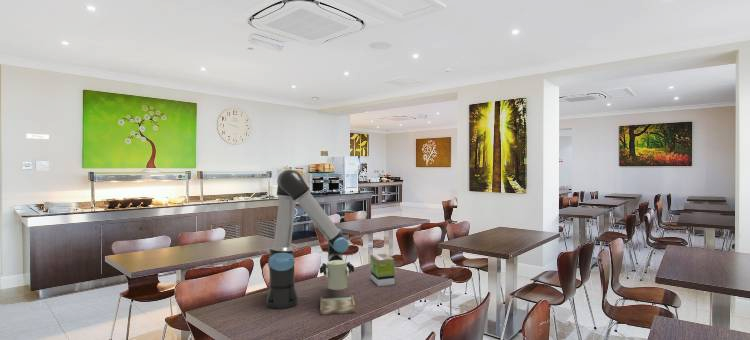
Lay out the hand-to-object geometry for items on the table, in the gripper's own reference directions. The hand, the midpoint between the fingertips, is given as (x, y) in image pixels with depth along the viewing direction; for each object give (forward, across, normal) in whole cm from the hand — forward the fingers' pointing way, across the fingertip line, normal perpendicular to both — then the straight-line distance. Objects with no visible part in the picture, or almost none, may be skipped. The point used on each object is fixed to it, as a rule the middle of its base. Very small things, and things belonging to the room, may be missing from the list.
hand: (337, 273), depth 187 cm
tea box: (-43, -27, -18) cm, 54 cm away
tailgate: (-14, 0, -17) cm, 22 cm away
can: (-5, 0, -7) cm, 9 cm away
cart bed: (-4, 0, -17) cm, 17 cm away
